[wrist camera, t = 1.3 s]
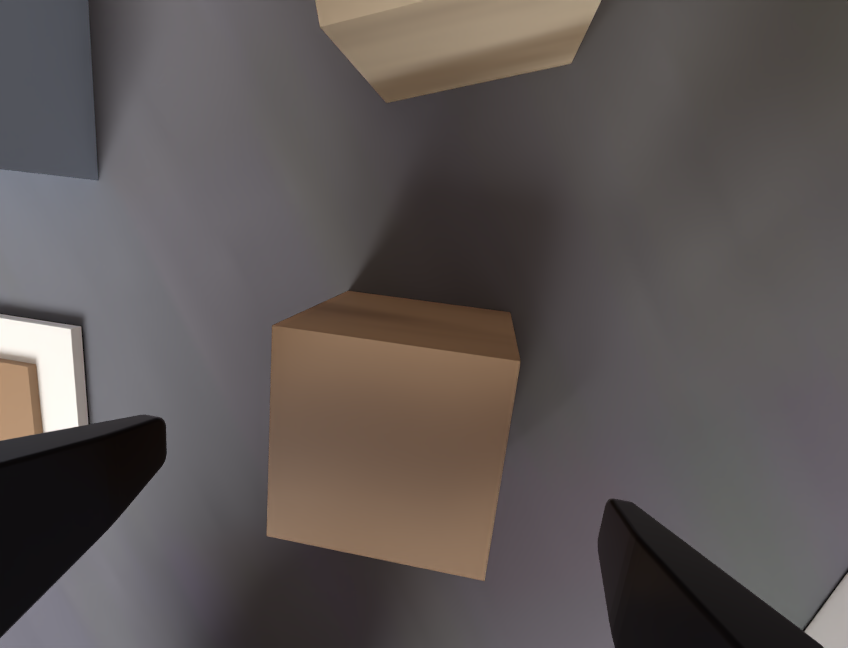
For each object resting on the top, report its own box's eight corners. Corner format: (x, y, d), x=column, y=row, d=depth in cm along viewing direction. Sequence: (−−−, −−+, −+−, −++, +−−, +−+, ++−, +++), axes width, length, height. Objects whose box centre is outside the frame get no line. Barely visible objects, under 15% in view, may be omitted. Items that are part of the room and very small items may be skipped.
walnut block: (487, 461, 14) (484, 581, 10) (339, 435, 15) (266, 535, 10) (510, 311, 13) (521, 361, 8) (348, 290, 14) (271, 325, 9)
